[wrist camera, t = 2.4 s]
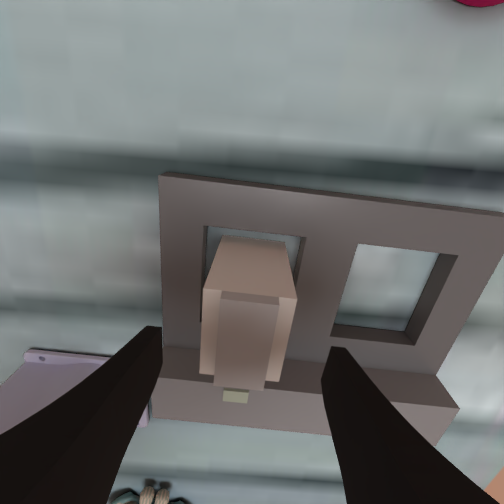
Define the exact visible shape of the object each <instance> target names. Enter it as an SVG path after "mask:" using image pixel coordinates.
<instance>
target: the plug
mask: <svg viewBox="0 0 504 504" xmlns="http://www.w3.org/2000/svg"><path fill="white" fill-rule="evenodd" d="M296 303H297V295H296V291H295V286H294V282H293V277H292V273H291V268H290V264H289V259H288V255H287V250H286V246H285V242H281V241H272V240H264V239H255V238H247V237H238V236H230V235H222V238H221V241H220V244H219V246H218V249H217V252H216V255H215V257H214V260H213V263H212V266H211V268H210V271H209V274H208V277H207V279H206V282H205V285H204V288H203V303H202V326H201V348H200V370H199V373H200V374H209V375H214V385H213V386H222V387H231V388H241V389H250V390H260V391H263V389H264V384H265V380H266V381H275V382H279V379H280V375H281V370H282V366H283V361H284V357H285V352H286V348H287V343H288V339H289V335H290V330H291V326H292V321H293V317H294V312H295V308H296Z"/></svg>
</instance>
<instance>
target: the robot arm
mask: <svg viewBox="0 0 504 504" xmlns="http://www.w3.org/2000/svg"><path fill="white" fill-rule="evenodd" d="M23 357H24V360H25V363H24V364H23V365H22V366H21V367H20V368H19V369H18V370H17V371H16V372H15V373H13V374H12V375H11V376H10V377H9V378H8V379H7V380H6V381H5V382H4V383H3V384H2V385H1V386H0V504H106V503H107V500H108V498H109V495H110V492H111V489H112V486H113V484H114V481H115V478H116V475H117V473H118V470H119V467H120V465H121V462H122V459H123V457H124V454H125V452H126V450H127V447H128V445H129V443H130V440H131V438H132V436H133V434H134V432H135V430H136V427H146V426H147V425H148V423H149V415H148V401H149V399H150V397H151V395H152V393H153V390H154V388H155V386H156V383H157V380H158V377H159V374H160V371H161V368H162V364H163V350H162V327H155V326H146V327H145V328H144V329H142V330H141V331H140V332H139V333H138V334H137V335H136V336H135V337H134V338H133V339H131V340H130V341H129V342H128V343H127V344H126V345H125V346H124V347H123V348H121V349H120V350H119V351H118V352H117V353H116V354H115V355H113V356H112V357H111V358H109V357H100V356H90V355H81V354H71V353H62V352H52V351H43V350H33V349H29V350H27V351H26V352H25V353H24V354H23ZM321 387H322V395H323V402H324V407H325V411H326V415H327V419H328V423H329V427H330V431H331V435H332V439H333V442H334V446H335V450H336V454H337V458H338V462H339V466H340V470H341V474H342V479H343V484H344V490H345V495H346V501H347V504H499V503H498V502H497V501H496V500H495V499H493V498H492V497H491V496H490V495H488V494H487V493H486V492H485V491H483V490H482V489H481V488H480V487H479V486H477V485H476V484H475V483H474V482H473V481H471V480H470V479H469V478H468V477H467V476H465V475H464V474H463V473H462V472H461V471H460V470H459V469H458V468H456V467H455V466H454V465H453V464H452V463H451V462H450V461H448V460H447V459H446V458H445V457H444V456H443V455H442V454H441V453H440V452H439V451H437V450H436V449H435V448H434V447H433V446H432V445H431V444H430V443H429V442H428V441H427V440H426V439H425V438H424V437H423V436H422V435H421V434H420V433H419V432H418V431H417V430H416V429H415V428H414V427H413V426H412V425H411V424H410V423H409V422H408V421H407V420H406V419H405V418H404V417H403V416H402V415H401V414H400V412H399V411H398V410H397V409H396V408H395V407H394V406H393V405H392V404H391V403H390V401H389V400H388V399H387V398H386V397H385V396H384V395H383V393H382V392H381V391H380V390H379V389H378V387H377V386H376V385H375V384H374V383H373V381H372V380H371V379H370V378H369V377H368V375H367V374H366V373H365V372H364V370H363V369H362V368H361V366H360V365H359V364H358V363H357V361H356V360H355V359H354V358H353V356H352V355H351V354H350V353H349V351H348V350H347V349H346V348H345V347H336V346H331V348H330V352H329V355H328V358H327V361H326V364H325V367H324V371H323V374H322V377H321Z"/></svg>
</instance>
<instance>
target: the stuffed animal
mask: <svg viewBox="0 0 504 504" xmlns="http://www.w3.org/2000/svg"><path fill="white" fill-rule="evenodd" d="M153 498H154V488H153V487H151V486H148V487H144V489H143V490H142V492H141V494H140V496H137V495H134V494H133V493H132V492H128V493H125V494H123V495H121V496H120V497H118V498H116V499H115V500H114V501H113V502H112V503H111V504H184V503H183V502H182V501H181V500H180V501H178V502H169V503H168V501H169V491H168V490H166V489H160V490H159V491H158V493H157V494H156V498H155V499H153Z"/></svg>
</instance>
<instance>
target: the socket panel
mask: <svg viewBox="0 0 504 504" xmlns="http://www.w3.org/2000/svg"><path fill="white" fill-rule="evenodd" d="M158 183H159V214H160V246H161V277H162V308H163V339H164V347H163V349H162V350H163V364H162V368H161V371H160V374H159V377H158V380H157V383H156V386H155V388H154V390H153V393H152V395H151V399H152V415H153V418H162V419H171V420H181V421H191V422H201V423H211V424H221V425H231V426H241V427H251V428H261V429H271V430H281V431H290V432H300V433H310V434H320V435H330V436H332V435H331V431H330V427H329V423H328V419H327V415H326V411H325V407H324V402H323V395H322V387H321V377H322V374H323V371H324V367H325V364H326V361H327V358H328V355H329V352H330V348H331V346H336V347H345V348H346V349H347V350H348V351H349V353H350V354H351V355H352V356H353V358H354V359H355V360H356V361H357V363H358V364H359V365H360V366H361V368H362V369H363V370H364V372H365V373H366V374H367V375H368V377H369V378H370V379H371V380H372V381H373V383H374V384H375V385H376V386H377V387H378V389H379V390H380V391H381V392H382V393H383V395H384V396H385V397H386V398H387V399H388V400H389V401H390V403H391V404H392V405H393V406H394V407H395V408H396V409H397V410H398V411H399V412H400V414H401V415H402V416H403V417H404V418H405V419H406V420H407V421H408V422H409V423H410V424H411V425H412V426H413V427H414V428H415V429H416V430H417V431H418V432H419V433H420V434H421V435H422V436H423V437H424V438H425V439H426V440H427V441H428V442H429V443H430V444H431V445H432V446H436V444H437V443H438V441H439V440H440V438H441V437H442V435H443V434H444V432H445V431H446V429H447V428H448V426H449V425H450V423H451V422H452V420H453V419H454V417H455V416H456V414H457V413H458V411H459V410H460V408H459V407H458V405H457V404H456V403H455V401H454V400H453V398H452V397H451V396H450V394H449V393H448V392H447V390H446V389H445V387H444V386H443V385H442V383H441V382H440V381H439V379H438V378H437V376H436V374H437V372H438V370H439V368H440V367H441V365H442V363H443V361H444V359H445V358H446V356H447V354H448V352H449V351H450V349H451V347H452V345H453V343H454V342H455V340H456V338H457V336H458V334H459V333H460V331H461V329H462V327H463V326H464V324H465V322H466V320H467V318H468V317H469V315H470V313H471V311H472V309H473V308H474V306H475V304H476V302H477V301H478V299H479V297H480V295H481V293H482V292H483V290H484V288H485V286H486V285H487V283H488V281H489V279H490V277H491V276H492V274H493V272H494V270H495V268H496V267H497V265H498V263H499V261H500V260H501V258H502V256H503V254H504V213H502V212H494V211H486V210H477V209H469V208H461V207H452V206H444V205H436V204H428V203H419V202H411V201H403V200H395V199H386V198H378V197H370V196H362V195H353V194H345V193H337V192H329V191H320V190H312V189H304V188H295V187H287V186H279V185H271V184H262V183H254V182H246V181H238V180H229V179H221V178H213V177H205V176H196V175H188V174H180V173H171V172H165V173H163V174H161V175H158ZM207 226H213V227H222V228H230V229H239V230H247V231H256V232H264V233H273V234H281V235H290V236H299V237H301V242H300V247H299V252H298V257H297V262H296V267H295V272H294V276H293V282H294V286H295V291H296V295H297V303H296V308H295V312H294V317H293V321H292V326H291V330H290V335H289V339H288V343H287V348H286V352H285V357H284V361H283V366H282V370H281V375H280V379H279V382H275V381H266V380H265V384H264V389H263V391H260V390H250V389H241V388H231V387H222V386H213V385H214V375H209V374H200V373H199V370H200V348H201V326H202V303H203V288H204V285H205V266H206V244H207ZM357 244H367V245H375V246H384V247H393V248H401V249H410V250H418V251H427V252H435V253H440V255H439V257H438V259H437V262H436V264H435V266H434V268H433V270H432V273H431V275H430V277H429V279H428V282H427V284H426V286H425V288H424V290H423V293H422V295H421V297H420V299H419V302H418V304H417V306H416V308H415V310H414V313H413V315H412V317H411V319H410V322H409V324H408V326H407V328H406V330H405V332H400V331H391V330H382V329H373V328H364V327H355V326H346V325H337V324H334V320H335V317H336V314H337V311H338V307H339V304H340V301H341V297H342V294H343V291H344V287H345V284H346V281H347V278H348V274H349V271H350V268H351V264H352V261H353V258H354V254H355V251H356V248H357Z"/></svg>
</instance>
